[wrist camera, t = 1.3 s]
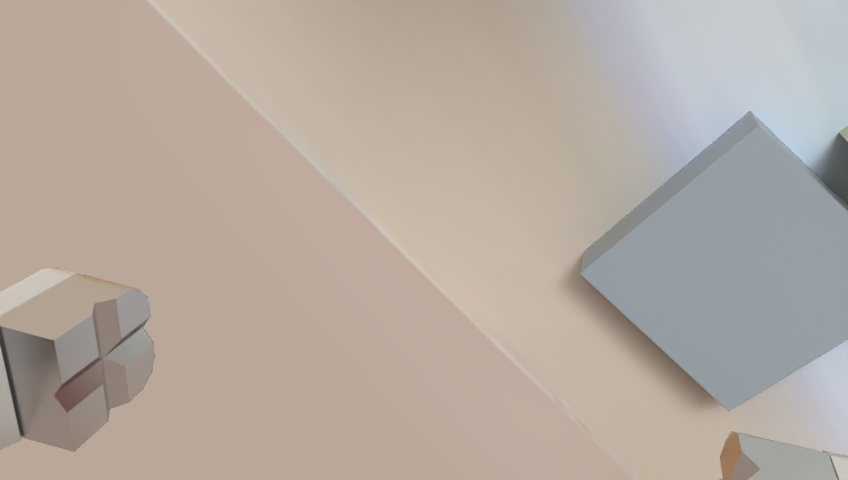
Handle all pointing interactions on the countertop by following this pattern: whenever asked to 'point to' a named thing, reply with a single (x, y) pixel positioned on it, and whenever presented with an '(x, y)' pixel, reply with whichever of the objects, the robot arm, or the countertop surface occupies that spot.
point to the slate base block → (733, 265)
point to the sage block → (844, 133)
